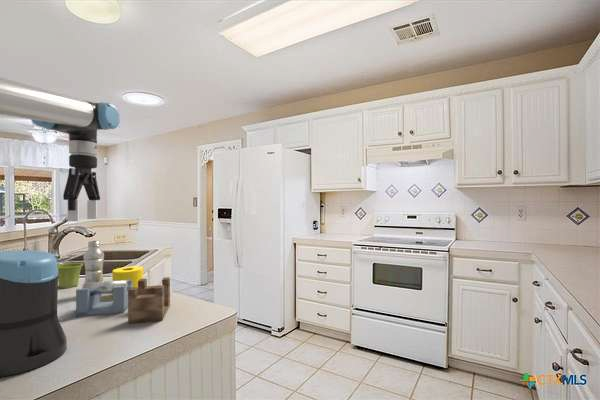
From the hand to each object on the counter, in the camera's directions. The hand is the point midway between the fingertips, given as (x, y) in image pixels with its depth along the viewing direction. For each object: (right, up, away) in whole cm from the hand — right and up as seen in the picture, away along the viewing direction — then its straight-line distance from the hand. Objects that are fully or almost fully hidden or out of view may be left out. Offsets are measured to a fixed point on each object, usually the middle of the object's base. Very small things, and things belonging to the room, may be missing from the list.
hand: (83, 220), depth 99 cm
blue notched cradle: (+9, -29, -2) cm, 30 cm away
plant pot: (-24, -29, +25) cm, 45 cm away
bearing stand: (+25, -29, -6) cm, 39 cm away
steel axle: (+9, -24, -2) cm, 25 cm away
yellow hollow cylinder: (+7, -29, +14) cm, 33 cm away
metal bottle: (-5, -29, +13) cm, 32 cm away
